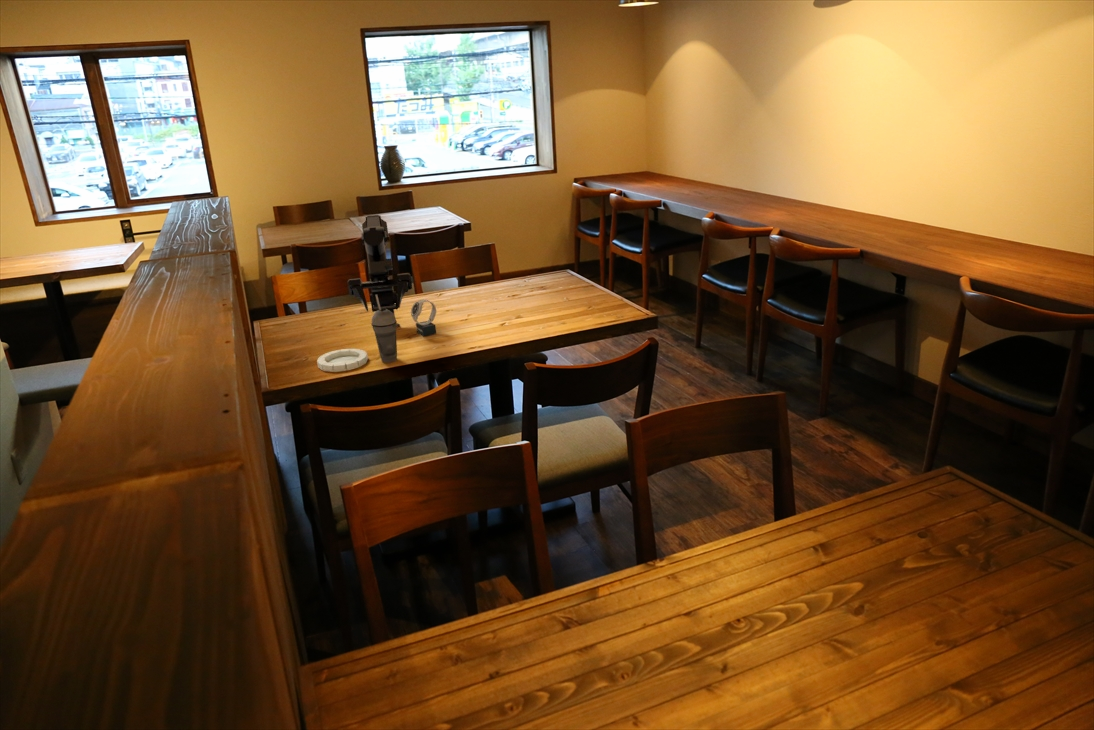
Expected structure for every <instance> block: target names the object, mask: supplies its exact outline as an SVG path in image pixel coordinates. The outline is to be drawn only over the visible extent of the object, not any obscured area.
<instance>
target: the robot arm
mask: <svg viewBox="0 0 1094 730" xmlns="http://www.w3.org/2000/svg"><path fill="white" fill-rule="evenodd" d="M361 227H362V232H361V243H362V246H364V247H365V252H366V256H367V264H368V277H369V278H368V279H369V281H362V278H361V277H357V278H350V279H348V280H347V282H346V283H347V288H348V289H347V290H348V293H349V296H352V297H354V298H358V299H359V301H360V303H362V305H363V307H364V309H365V311H366V312H369V306H368V302H367V298H366V295H365V292H364V290H366V289H370V290H371V293H369V299H370V306H371V312H372V313H375V312H376V311H378V310H379V307H378V303H377V299H376V295H377V296H378V300H379V304H380V308H381V309H387V310H389V311H391V312H392V313H393V314H394V316H395V317H396V314H395V310H398V309H400V308H401V304H402V301H403V298H404V295H405V293H408V292H409V291H411V290H412V289H413V283H412V281H413V280H412V275H411V274H410V272H406V273H397V278H392V279H390V273H389V271H393V262H392V258H388V257H387V251H386V247H387V246H388V242H389V241H390V236H389V231H388V230H389V229H388V223H387V222H386V221H385V220H384V219H382V217H381V215H379V214H374V215H373V214H372V215H367V216H365V220H364V221H363V222H362V224H361ZM394 287H397V293H396V291H394ZM400 326H401V324H399V323H398V322H397V323H396V328H398V327H400Z"/></svg>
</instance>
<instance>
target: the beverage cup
mask: <svg viewBox="0 0 1094 730" xmlns="http://www.w3.org/2000/svg"><path fill="white" fill-rule="evenodd" d="M376 299H377V303H378V307H379V310H378V311H375V312H373V315H372V317H371V323H370V324H371V326H372V330H373V332H374V335H375V340H376V344H377V348H378V353H379V357H380V360H381V362H382V363H383V364H389V363H395V362H397V360H398V349H397V343H398V342H397V327H396V323H398V321H397V320H396V319H397V318H396V315H395V316H394V314H395V313H394V314H393V313H392V312H391V311H389V310H387V309H381V308H380V304H379V300H378V296H377V295H376Z"/></svg>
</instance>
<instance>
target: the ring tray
mask: <svg viewBox="0 0 1094 730" xmlns="http://www.w3.org/2000/svg"><path fill="white" fill-rule="evenodd" d="M368 359H369V357H368V353H367V351H365V350H363V349H359V348H344V349H342V348H341V349H337V350H332V351H328V352H326V353H324V354H321V355H320V356H319V357H318V358H317V360H316V362H317V364H316V365H317V367H318V369H320V370H321V371H324V372H333V373H338V372H346V371H351V370H354V369H355V370H356V369H358V368H360V367H362V366H364V365H365V364H367V363H368Z"/></svg>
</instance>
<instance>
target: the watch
mask: <svg viewBox="0 0 1094 730" xmlns="http://www.w3.org/2000/svg"><path fill="white" fill-rule="evenodd" d="M413 303H414V304H413V305H412V307H411V310H410V315H411V317H412V319H413V321H414V322H415V326H416V333H417V334H419V335H420V336H422V337H423V338H425V337H429V336H433V335H437V328H436V324H435V323H433V322H434V320H435V317H436V315H437V308H436V305H435V304H434V302H432V301H430V300H429V299H420V300H417V301H415V302H413ZM424 303H430V305H431V306H432V307H431V312H430V316H429V317H428V320H425V321H418V317H419V316H420V315H421V313H422V311H423V306H424Z"/></svg>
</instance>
